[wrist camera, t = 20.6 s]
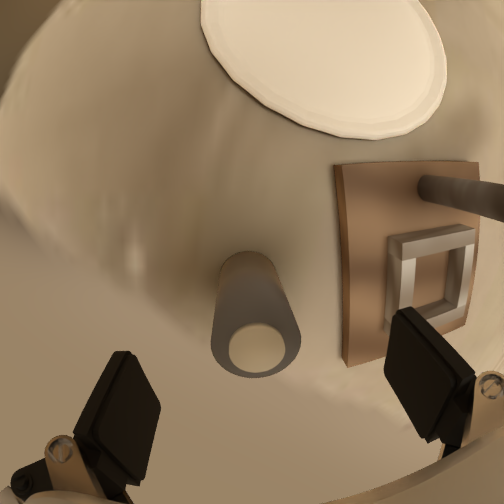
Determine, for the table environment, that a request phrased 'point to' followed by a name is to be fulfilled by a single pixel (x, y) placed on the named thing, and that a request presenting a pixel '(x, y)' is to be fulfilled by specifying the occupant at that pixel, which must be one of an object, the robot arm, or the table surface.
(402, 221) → the socket base
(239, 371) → the plug
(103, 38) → the table surface
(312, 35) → the plate
